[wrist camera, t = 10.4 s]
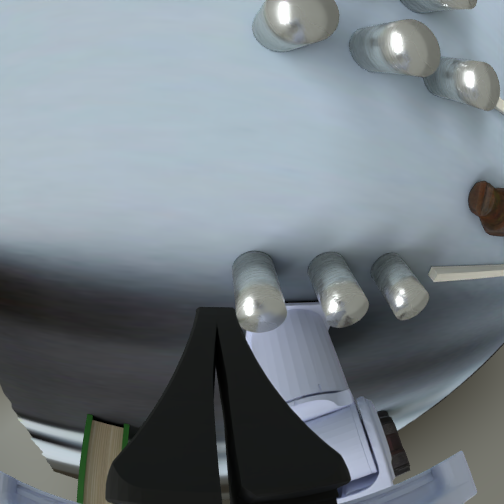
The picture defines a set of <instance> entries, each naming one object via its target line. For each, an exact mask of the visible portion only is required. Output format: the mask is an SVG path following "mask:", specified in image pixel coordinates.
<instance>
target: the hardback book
mask: <svg viewBox="0 0 504 504" xmlns="http://www.w3.org/2000/svg"><path fill="white" fill-rule="evenodd" d="M128 435H129V424H124V428H122V427H117V426H113V425H109V424H106V423H102V422H98V421H95V420H93V415H90V414H87V420H86V426H85V432H84V438H83V445H82V452H81V460H80V469H79V479H78V491H77V503H80V504H112V503H109V502H107V501H106V499H105V490H106V480H107V475H108V472H109V469H110V466H111V464H112V462H113V460H114V459H115V458H116V457H117V456H118V454H119V453H120V452H121V451H122V450H123V449H124V448H125V446H126V445H127V444H128Z"/></svg>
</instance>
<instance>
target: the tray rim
mask: <svg viewBox="0 0 504 504" xmlns="http://www.w3.org/2000/svg"><path fill="white" fill-rule="evenodd" d="M495 109H496V110H498V111H499V112H500V113H502V114H503V115H504V100H502V99H501V98H500V97H499V100H498V103H497V105H496V106H495ZM428 275H429V277H430V278H431V279H432V280H433V282H441V281H454V280H466V279H477V278H488V277H498V276H504V264H500V265H472V266H439V267H431V269H430V271H429V273H428Z"/></svg>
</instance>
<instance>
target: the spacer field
mask: <svg viewBox="0 0 504 504" xmlns="http://www.w3.org/2000/svg"><path fill="white" fill-rule="evenodd" d="M400 1H401V2H402V3H403V4H404V5H405V6H406V7H407V8H408V9H410V10H411V11H414V12H416V13H426V12H434V11H444V10H458V9H472V8H474V7H475V6H476V3H477V0H400ZM338 23H339V10H338V7H337V5H336V3H335V1H334V0H266V1H265V2H264V4H263V5H262V7H261V8H260V10H259V11H258V13H257V14H256V16H255V18H254V20H253V24H252V30H253V34H254V36H255V38H256V40H257V41H258V42H259V43H260V44H261V45H262V46H264V47H265V48H267V49H269V50H272V51H276V52H288V51H291V50H294V49H297V48H300V47H303V46H306V45H309V44H312V43H316V42H319V41H322V40H324V39H326V38H328V37H329V36H330V35H331V34H333V32H334V31H335V30H336V28H337V26H338ZM349 47H350V52H351V55H352V57H353V59H354V61H355V62H356V63H357V64H358V65H359V66H360V67H361V68H363V69H365V70H367V71H370V72H379V73H391V74H402V75H410V76H418V77H423V79H424V82H425V85H426V87H427V88H428V90H429V91H430V92H431V93H432V94H433V95H435V96H438V97H442V98H446V99H450V100H453V101H457V102H461V103H464V104H467V105H470V106H474V107H477V108H480V109H483V110H486V111H490V110H492V109H494V108H495V106H496V105H497V103H498V100H499V96H500V86H499V80H498V77H497V75H496V72H495V71H494V69H493V68H492V67H491V66H490V65H489V64H487V63H485V62H479V61H472V60H465V59H457V58H447V57H440V48H439V44H438V42H437V39H436V37H435V36H434V34H433V33H432V31H431V30H430V29H429V28H428V27H427V26H426V25H424V24H423V23H421V22H419V21H417V20H412V19H407V20H400V21H394V22H389V23H383V24H378V25H374V26H369V27H365V28H361V29H358V30H357V31H355V32H354V33H353V35H352V36H351V39H350V43H349ZM232 275H233V285H234V296H235V306H236V315H237V319H238V321H239V324H240V326H241V327H242V328H243V329H245V330H247V331H249V332H254V333H263V332H268V331H271V330H273V329H275V328H277V327H279V326H280V325H281V324H282V323H283V322H284V321H285V319H286V317H287V309H286V305H285V302H284V298H283V295H282V291H281V288H280V284H279V281H278V277H277V274H276V270H275V267H274V263H273V261H272V259H271V258H270V256H268V255H267V254H265V253H263V252H259V251H250V252H246V253H244V254H242V255H240V256H239V257H238V258H237V259H236V260H235V261H234V263H233V266H232ZM308 276H309V279H310V281H311V284H312V286H313V288H314V291H315V293H316V296H317V298H318V301H319V303H320V306H321V308H322V311H323V313H324V316H325V318H326V321H327V323H328V324H329V325H330V326H332V327H336V328H342V327H347V326H350V325H352V324H354V323H356V322H357V321H359V320H360V319H361V318H362V317H363V316H364V315H365V314H366V312H367V310H368V307H369V302H368V300H367V298H366V296H365V295H364V293H363V291H362V289H361V288H360V286H359V284H358V282H357V281H356V279H355V277H354V276H353V274H352V272H351V270H350V269H349V267H348V265H347V264H346V262H345V260H344V259H343V257H342V256H341V255H340V254H338V253H335V252H326V253H323V254H321V255H319V256H317V257H316V258H314V259H313V261H312V262H311V263H310V265H309V267H308ZM371 277H372V279H373V280H374V282H375V283H376V285H377V286H378V288H379V290H380V291H381V293H382V294H383V296H384V298H385V299H386V301H387V302H388V304H389V306H390V307H391V309H392V311H393V312H394V314H395V316H396V317H397V319H399V320H407V319H410V318H412V317H414V316H416V315H417V314H418V313H420V312H421V311H422V310H423V309H424V307H425V306H426V304H427V302H428V300H429V294H428V292H427V291H426V290H425V288H424V287H423V286H422V284H421V283H420V282H419V280H418V279H417V278H416V276H415V275H414V274H413V273H412V271H411V270H410V269H409V267H408V266H407V265H406V264H405V262H404V261H403V260H402V259H401V257H400V256H399V255H398V254H396V253H388V254H385V255H383V256H381V257H380V258H379V259H378V260H377V261H376V262H375V263H374V264H373V266H372V269H371Z"/></svg>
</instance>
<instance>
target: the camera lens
mask: <svg viewBox="0 0 504 504" xmlns="http://www.w3.org/2000/svg"><path fill="white" fill-rule="evenodd" d="M377 414H378V417H379V419H380V422H381V425H382V428H383V431H384V434H385V437H386V440H387V443H388V446H389V449H390V453H391V457H392V461H391V464H392V467H393V471H394V474H395V477H397V476H399V475H401V474H404V473H406V472H407V471H410V465H409V461H408V458H407V456H406V453H405V450H404V449H403V447H402V444H401V441H400V438H399V435H398V432H397V429H396V426H395V424H394V422H393V420H392V418H391V417H389V416H388V413H387V412H386V411H380V412H377ZM362 423H363V421H362ZM371 450H372V449H371ZM372 453H373V451H372Z"/></svg>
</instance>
